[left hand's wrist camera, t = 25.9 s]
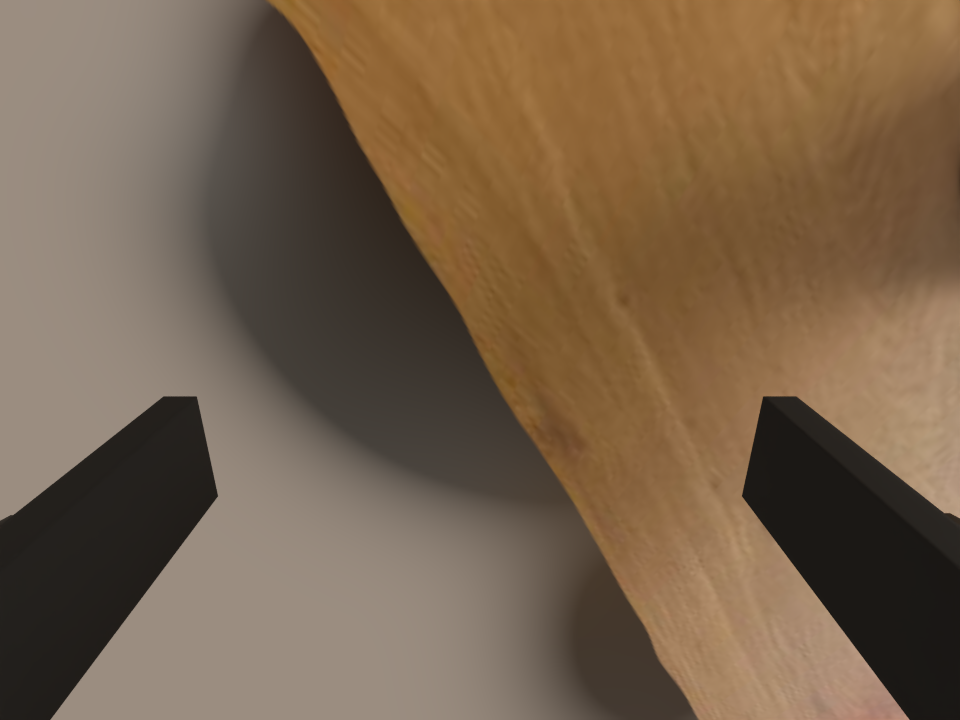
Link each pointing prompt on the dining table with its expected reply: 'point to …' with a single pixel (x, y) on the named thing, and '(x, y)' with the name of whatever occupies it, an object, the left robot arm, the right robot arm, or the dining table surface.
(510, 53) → the dining table surface
